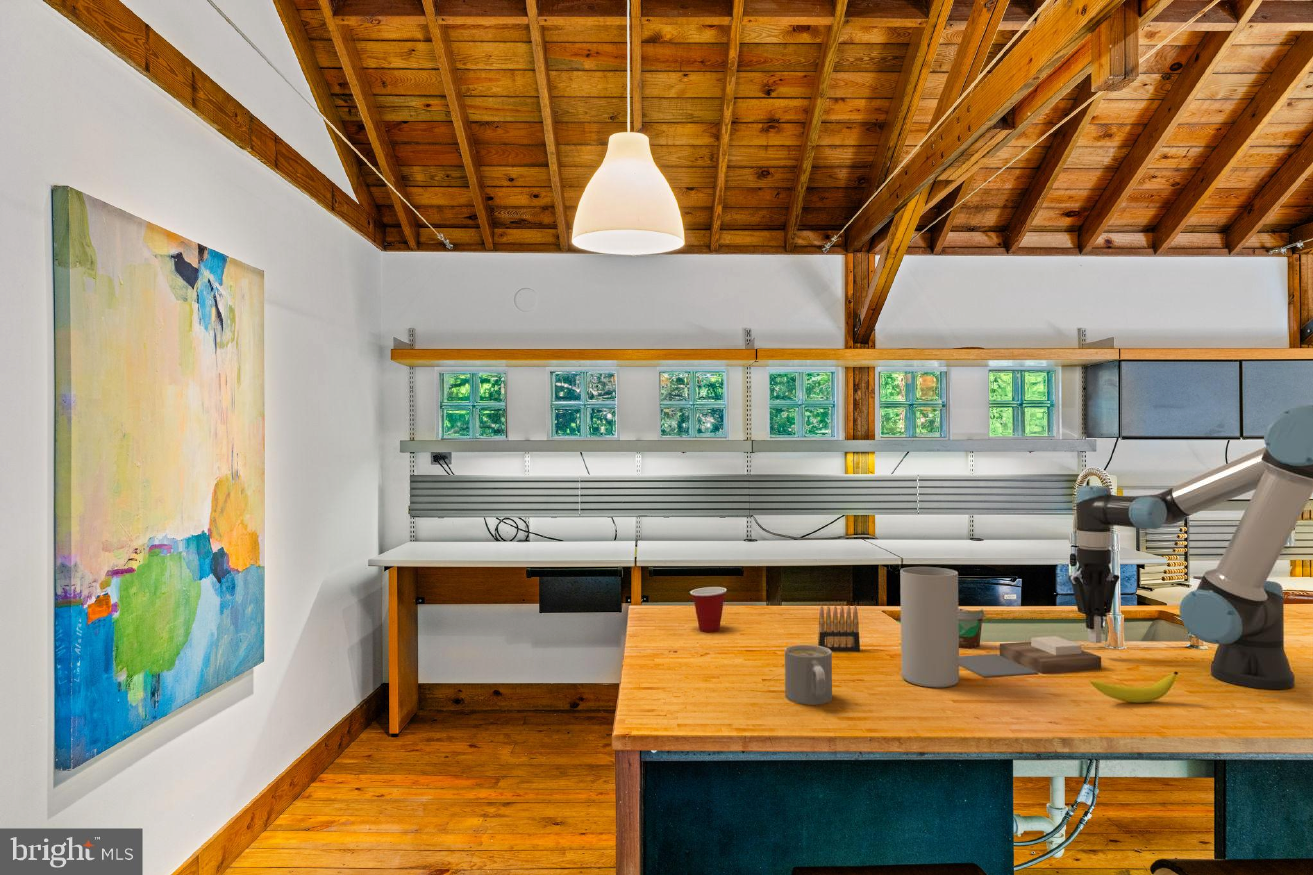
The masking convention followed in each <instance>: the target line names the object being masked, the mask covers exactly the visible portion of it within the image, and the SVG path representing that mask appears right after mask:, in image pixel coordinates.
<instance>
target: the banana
mask: <svg viewBox="0 0 1313 875" xmlns="http://www.w3.org/2000/svg"><path fill="white" fill-rule="evenodd" d="M1178 674H1179V671H1174V673H1172V674H1169V675H1167V676H1165V677H1163V678H1161V679H1160V680H1159V681H1157V682H1156V683H1153V684H1151V685H1149V686H1141V687H1140V686H1135V687H1134V686H1122V685H1116V684H1112V683H1106V682H1103V681H1098V680H1089V683H1090V684H1091V685H1092V687H1093V688H1094V689H1096V690H1097V691H1098V692H1100V693H1101V694H1103V695H1104V696H1106V697H1109V698H1111V699H1114V700H1118V701H1123V702H1127V703H1132V704H1135V703H1136V704H1141V703H1142V704H1144V703H1150V702H1155V701H1157V700H1159V699H1161V698H1162V697H1164V696H1165V695H1166V694H1167V693H1168V692H1169V691H1170V690H1171V688H1172V686H1173V684H1174V683H1175V680H1176V676H1177V675H1178Z"/></svg>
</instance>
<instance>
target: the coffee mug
mask: <svg viewBox="0 0 1313 875" xmlns="http://www.w3.org/2000/svg"><path fill="white" fill-rule="evenodd" d="M784 685H785V686H784V690H785V691H784V692H785V693H784V695H785V698H786V700H788V701H789V702H792V703H796V704H800V705H801V704H802V705H808V706H809V705H810V706H811V705H812V706H815V705H824V704H827V703H829V702H831V701H832V700H833V652H831V650H830V649H828V648H825V647H822V646H818V645H816V644H796V645H790V646H787V647H785V649H784Z"/></svg>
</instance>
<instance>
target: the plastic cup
mask: <svg viewBox="0 0 1313 875" xmlns="http://www.w3.org/2000/svg"><path fill="white" fill-rule="evenodd" d="M726 592H727V588H725V587H722V586H707V587H701V588H700V587H699V588H695V589H693V590H691V591H689V593H690V595H691V596H692V601H693V602H694V608H695V614H696V618H697V619H696V620H697V624H698V628H699V631H700V632H703V633H715V632H716V633H717V632H719V630H720V628H721V622H722V618H723V617H722V615H723V610H724V601H725V597H726Z"/></svg>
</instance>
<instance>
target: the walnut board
mask: <svg viewBox="0 0 1313 875" xmlns="http://www.w3.org/2000/svg"><path fill="white" fill-rule="evenodd" d="M999 655H1000V656H1002V657H1004V658H1006V659H1009V660H1011V661H1013V662H1016V663H1018V664H1020V665H1023V666H1025V667H1027V668H1029V669H1032V670H1034V671H1036V672H1038V674H1041V675H1042V674H1053V673H1055V674H1056V673H1066V672H1068V673H1069V672H1081V671H1083V672H1085V671H1098V670H1102V656H1099V655H1097V654H1094V653H1092V652H1089V651H1086V650H1083V649H1081V654H1066V655H1054V654H1051V653H1049V652H1046V651H1044V650H1041V649H1039V648H1036V647H1033V646H1031V641H1022V642H1005V643H1004V642H1003V643H999Z"/></svg>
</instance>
